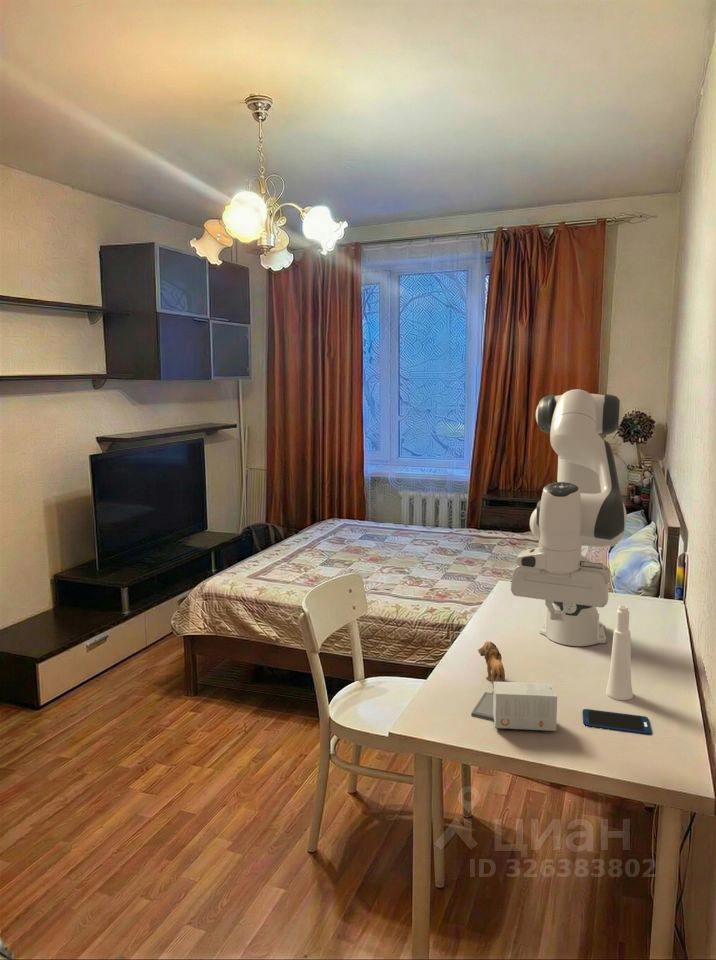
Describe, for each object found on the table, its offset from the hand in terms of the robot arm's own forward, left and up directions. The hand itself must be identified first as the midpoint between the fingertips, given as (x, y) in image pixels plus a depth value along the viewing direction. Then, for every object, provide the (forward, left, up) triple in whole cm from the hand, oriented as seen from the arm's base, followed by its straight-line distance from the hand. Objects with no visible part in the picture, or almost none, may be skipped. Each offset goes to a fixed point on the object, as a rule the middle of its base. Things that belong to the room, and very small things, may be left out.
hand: (557, 619), depth 143 cm
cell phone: (-4, +12, -24) cm, 27 cm away
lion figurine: (-11, -17, -24) cm, 31 cm away
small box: (+4, +1, -19) cm, 19 cm away
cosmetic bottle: (-18, +12, -23) cm, 32 cm away
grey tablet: (+1, -10, -23) cm, 25 cm away
